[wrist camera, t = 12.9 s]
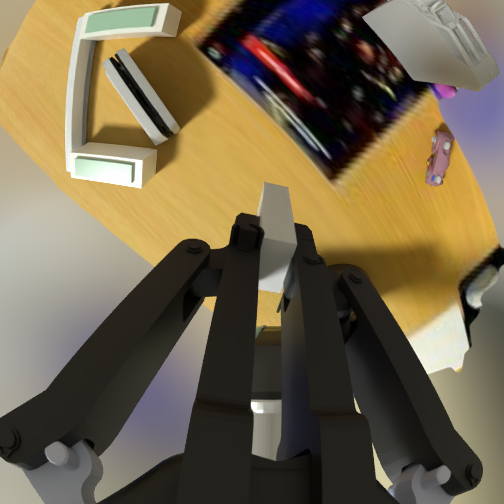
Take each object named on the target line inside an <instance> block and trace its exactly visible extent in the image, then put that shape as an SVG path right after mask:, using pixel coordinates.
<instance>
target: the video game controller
mask: <svg viewBox="0 0 504 504" xmlns="http://www.w3.org/2000/svg"><path fill="white" fill-rule="evenodd" d="M431 140H432V143H433V145H432V153H435V156H434V158H431V157H430V158H429V161H427V165H428V166H427V173H426V181H425V182H426V183H427V184H429V185H431V186H432V185H433V186H438V185H442V184H443V180H442V179H443V176H444V173H445V171H446V170H447V168H448V166H449V153H450V148H451V142H452V141H454V137H453V136H452V135H451V134H449V133H447V132H440V131H437V134H436V136H435V137H434V136H433V137H432V139H431Z"/></svg>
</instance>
